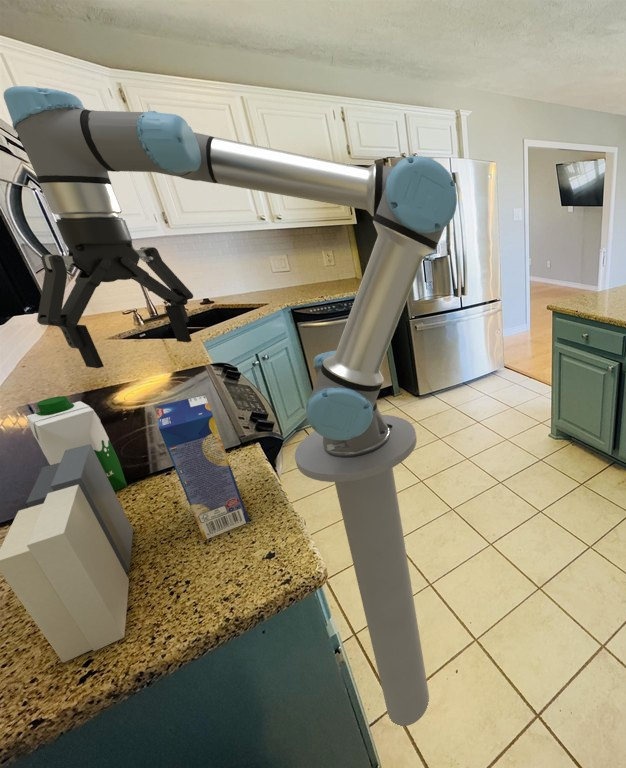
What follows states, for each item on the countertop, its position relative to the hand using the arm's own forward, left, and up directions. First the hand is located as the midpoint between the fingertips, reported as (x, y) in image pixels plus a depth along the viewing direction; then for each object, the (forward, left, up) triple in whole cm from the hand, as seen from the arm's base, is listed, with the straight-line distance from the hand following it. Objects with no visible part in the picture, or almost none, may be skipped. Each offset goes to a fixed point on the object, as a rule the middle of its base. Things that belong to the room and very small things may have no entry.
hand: (143, 353), depth 68 cm
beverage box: (-3, +8, -31) cm, 32 cm away
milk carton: (+16, -18, -31) cm, 39 cm away
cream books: (+13, +22, -31) cm, 40 cm away
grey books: (+13, +8, -31) cm, 34 cm away
